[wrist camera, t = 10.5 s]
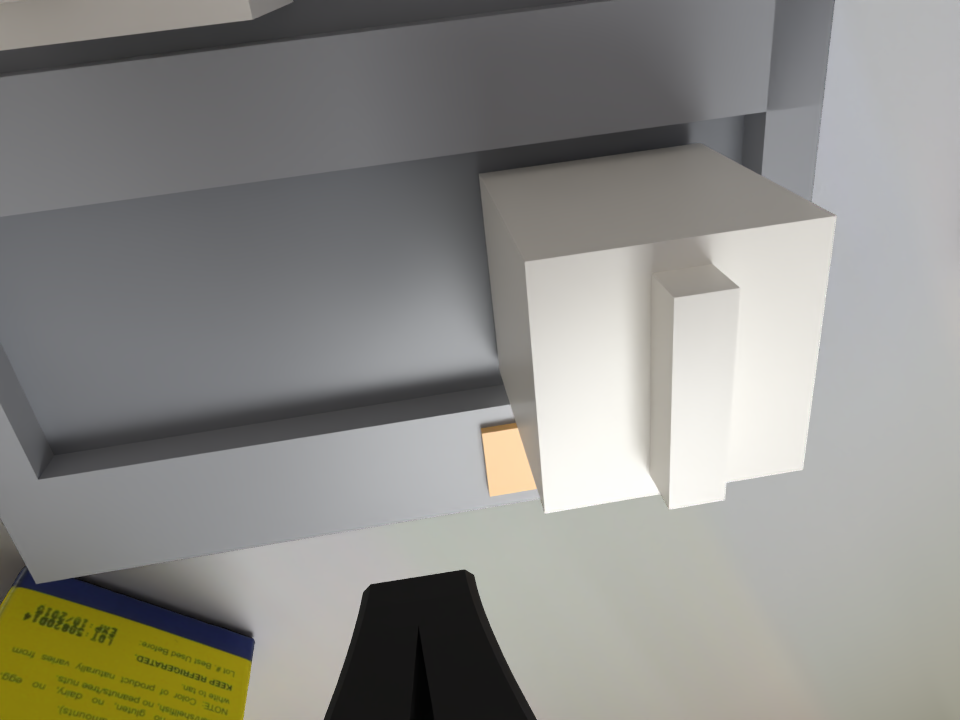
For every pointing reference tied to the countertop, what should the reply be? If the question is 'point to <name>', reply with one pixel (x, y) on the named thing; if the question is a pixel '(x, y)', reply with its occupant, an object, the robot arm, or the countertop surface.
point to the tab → (655, 322)
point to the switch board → (319, 250)
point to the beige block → (115, 18)
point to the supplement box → (113, 658)
